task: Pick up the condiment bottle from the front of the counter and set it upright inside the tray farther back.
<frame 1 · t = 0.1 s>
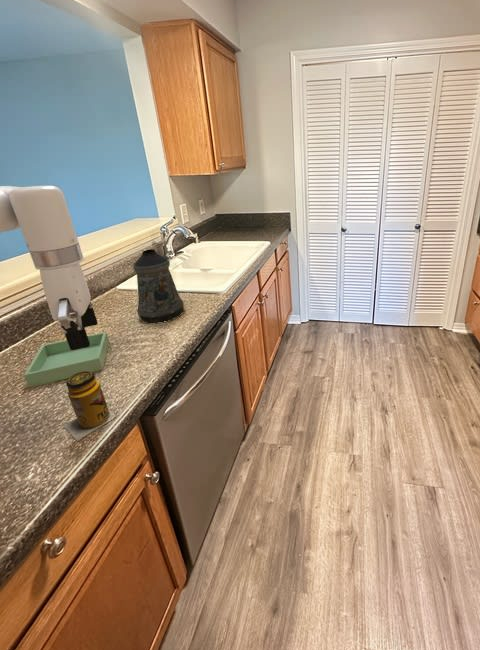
hand: (85, 336, 66), 22 cm above the countertop, tool pointing down, fingers open, 9 cm apart
tray: (73, 362, 97), on the countertop
beer stein: (161, 313, 126), on the countertop
condiment: (91, 422, 74), on the countertop
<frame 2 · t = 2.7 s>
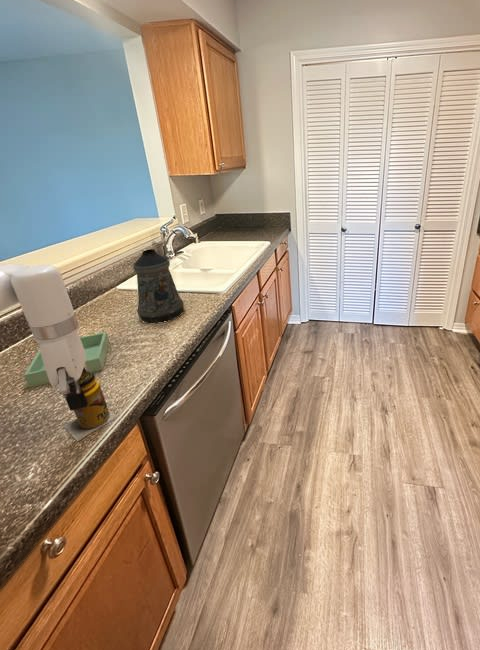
hand: (82, 396, 72), 7 cm above the countertop, tool pointing down, fingers closed on condiment, 6 cm apart
condiment: (91, 422, 74), on the countertop, touching gripper
everything else where it was.
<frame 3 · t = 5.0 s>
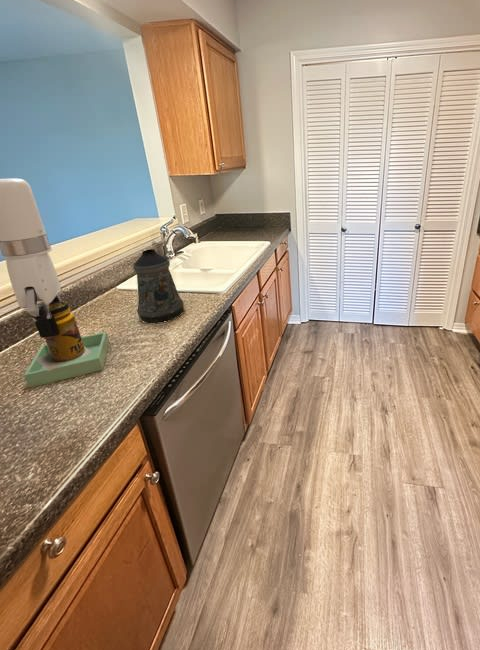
hand: (55, 327, 69), 23 cm above the countertop, tool pointing down, fingers closed on condiment, 6 cm apart
condiment: (65, 357, 71), point 16 cm above the countertop, touching gripper
everything else where it was.
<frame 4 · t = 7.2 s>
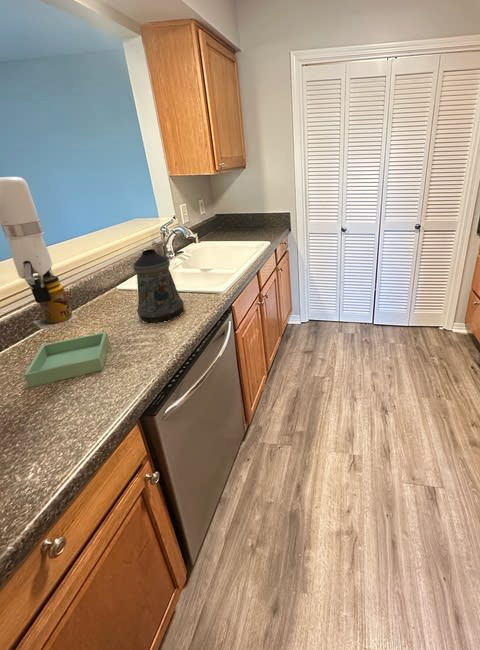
hand: (47, 296, 86), 23 cm above the countertop, tool pointing down, fingers closed on condiment, 6 cm apart
condiment: (56, 320, 89), point 16 cm above the countertop, touching gripper
everything else where it was.
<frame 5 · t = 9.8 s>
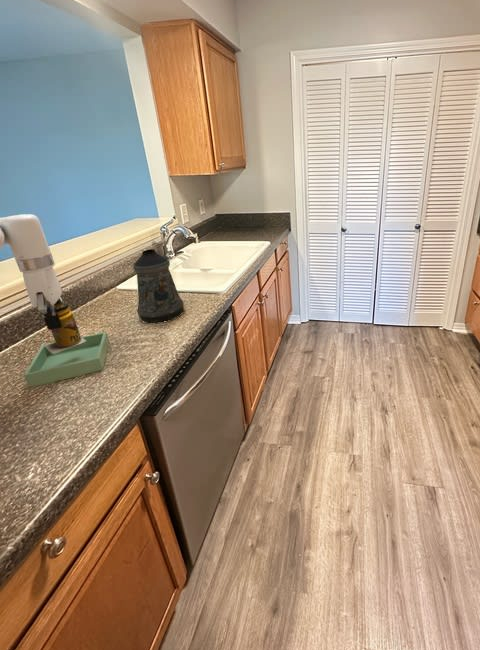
hand: (58, 322, 92), 14 cm above the countertop, tool pointing down, fingers closed on condiment, 6 cm apart
condiment: (66, 344, 94), point 6 cm above the countertop, touching gripper
everything else where it was.
when the fingers open (8 cm above the countertop, at t = 12.0 s): condiment stays where it is, resting on tray.
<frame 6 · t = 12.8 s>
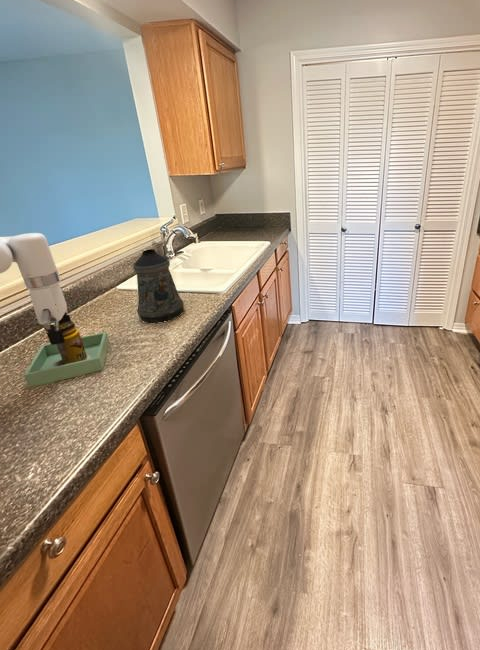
hand: (62, 335, 93), 10 cm above the countertop, tool pointing down, fingers open, 9 cm apart
condiment: (72, 362, 97), resting on tray
everything else where it was.
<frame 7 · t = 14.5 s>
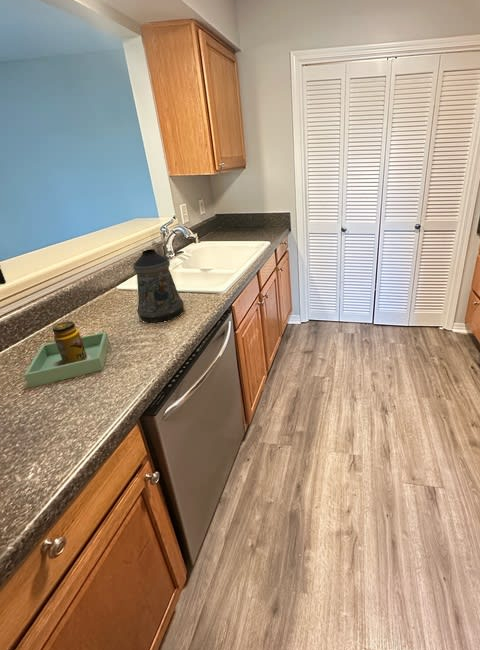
nothing on the countertop moved.
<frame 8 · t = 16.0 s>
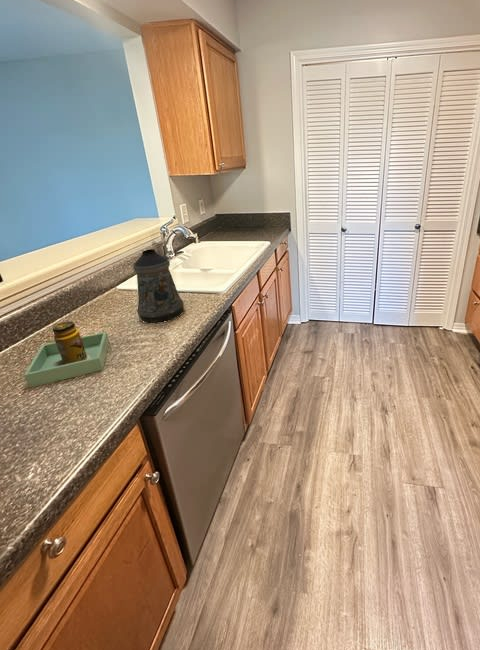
nothing on the countertop moved.
at the end: condiment inside the target area in the tray (0.3 cm from its centre), point 0.4 cm above the tray's base; condiment tilted 0°; the gripper is holding nothing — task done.
